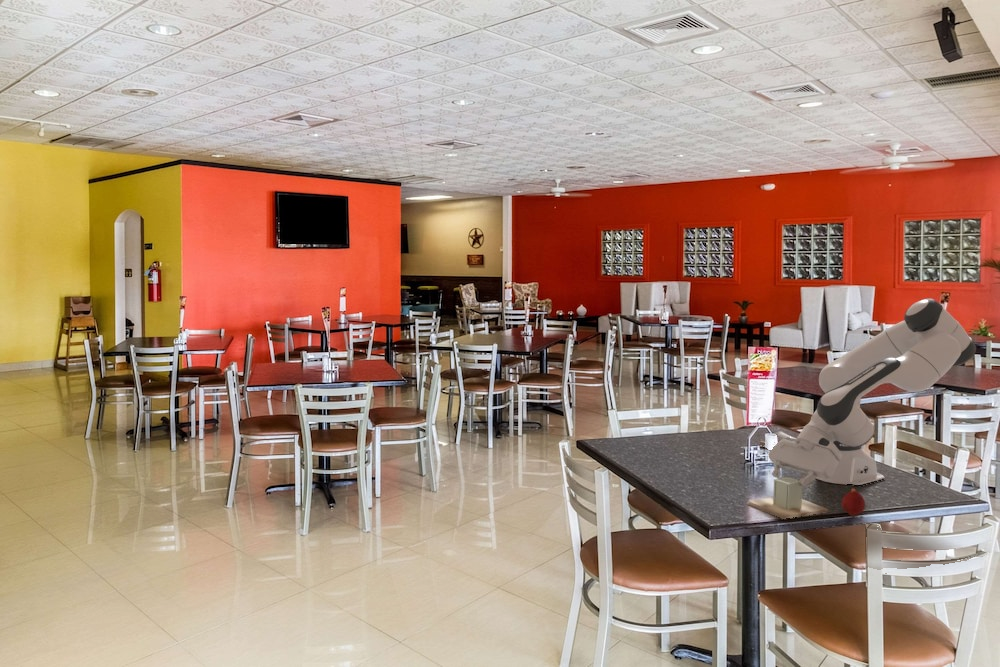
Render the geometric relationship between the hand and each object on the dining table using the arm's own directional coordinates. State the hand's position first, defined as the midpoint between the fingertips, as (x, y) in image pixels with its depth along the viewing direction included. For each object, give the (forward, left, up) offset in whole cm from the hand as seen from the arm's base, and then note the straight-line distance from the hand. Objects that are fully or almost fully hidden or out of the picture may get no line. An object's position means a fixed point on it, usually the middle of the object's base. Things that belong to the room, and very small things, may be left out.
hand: (787, 480), depth 213 cm
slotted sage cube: (0, +1, -7) cm, 7 cm away
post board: (0, +1, -8) cm, 8 cm away
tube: (-49, -47, -8) cm, 69 cm away
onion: (-12, +13, -8) cm, 19 cm away
